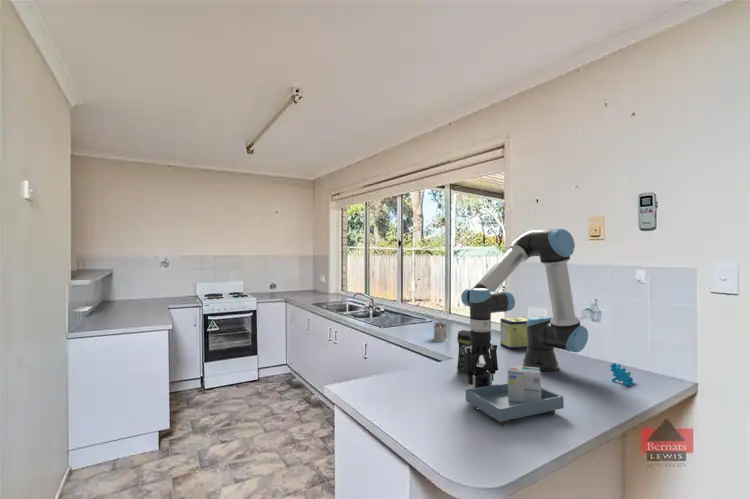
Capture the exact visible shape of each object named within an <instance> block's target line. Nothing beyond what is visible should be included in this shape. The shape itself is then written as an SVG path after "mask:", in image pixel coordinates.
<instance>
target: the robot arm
mask: <svg viewBox="0 0 750 499" xmlns="http://www.w3.org/2000/svg"><path fill="white" fill-rule="evenodd" d="M575 247H576V246H575V239H574V238H573V236H572V234H571V233H570V232H569V230H566V229H564V228H548V229H547V228H545V229H534V230H532V229H531V230H529V231H526V232H525V233H523V234H522V235H520V236H518V237H517V238H516V239H515V240H513V242H511V243H510V245H509V246H508V248H507V251H506V252H505V254H503V256H502V257H500V258H499V259H498V261H497V262H496V263H495V264H494V265H493V266H492V267H491V268H490V269H489V270H488V271H487V272H486V274H485V275H484V276H483V277H482V278H481V279H480V280H479V281H478V282H477V283H476V284H475V285H474V287H472V288H466V289H464V290H463V291H462V293H461V295H460V296H461V298H460V300H461V302H462V304H463V305H464V306H467V307H469V329H470V330H469V331H470V340H471V344H470V346H469V347H464V365H463V373H462V374H464V375H467V384H468V385H469V388H468V389H473V388H476V382H475V376H474V372H475V368H476V365H477V361H478V359H479V360H480V357H481V356H482V357H483V360H484V364H486V365H487V369H488V370H487V372H488V373H489V374H490V386H491V385H493V382H494V375H495V374H496V372H497V371H498V370H499V366H498V365H499V364H498V354H497V353H498V352H497V351H498V350H497V349H498V345H497V344H494V343H491V340H492V332H491V331H490V330H491V328H492V327H491V326H492V323H491V322H492V317H491V316H492V314H494V313H506V312H509V311H512V310H513V309H514V308H515V305H516V299H515V296H514V295H513V294H512V293H511V292H509V291H501V292H499V291H497V290H498V289H499V288H500V286H501V285H503V283H504V282H505V281H506V280H507V279H508V278H509V277H510V275H511V274H512V273H513V272H514V271H515V270H516V268H518V267H519V266H520V264H521V263H524V262H526V261H527V260H528V259H530V258H531V257H532V258H533V257H539V258H540V259H539V260H540V263H542V264H543V265H544V266H545V273H546V279H547V280H546V281H547V285H548V286H547V287H548V292H549V299H550V305H551V311H552V316H533V317H530V318H527V319H528V320H527V349H526V350H525V351H526V352H525V354H524V358H523V360H522V362H523V363H522V365H523V367H537V368H540V372H541V371H542V372H552V371H553V372H555V371H557V370H558V369H559V362H558V360H557V357H556V353H555V349H559V350H561V351H562V350H563V351H566V352H570V353H571V352H573V353H580V352H581V351H583V349H585V347H586V345H587V343H588V339H589V331H588V329H587V328H586V327H585V326H584V325H581V321H580V318H579V317H577V316H576V314H575V306H574V302H573V293H572V289H571V282H570V280H571V279H570V274H569V269H568V262H569V261H570V260H571V256H572V255H573V254H574V252H575ZM471 350H472V351H471ZM471 352H472V354H471ZM471 356H472V357H471Z"/></svg>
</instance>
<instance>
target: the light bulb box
mask: <svg viewBox="0 0 750 499" xmlns="http://www.w3.org/2000/svg"><path fill="white" fill-rule="evenodd" d="M541 374H542V373H541V371H540V368H537V367H525V366H524V365H523V366H521V365H520V366H519V365H510V364H508V366H507V383H508V401H515V402H523V403H526V402H531V401H536V400H541V387H542V377H541V376H542V375H541Z"/></svg>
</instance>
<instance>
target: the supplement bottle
mask: <svg viewBox="0 0 750 499" xmlns="http://www.w3.org/2000/svg"><path fill="white" fill-rule="evenodd" d="M474 376H475V382H476V388H479V387H485V386H490V374H489V373H488V369H487V365H486V364H485V363H483V362H479V363H477V365H476V368H475V372H474Z"/></svg>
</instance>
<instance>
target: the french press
mask: <svg viewBox="0 0 750 499" xmlns="http://www.w3.org/2000/svg"><path fill="white" fill-rule="evenodd" d="M442 301H443V300H442V298H441V299H440V298H439V299H438V302H442ZM433 319H436V320H438V322H435V323H434V326H433V338H432V341H434V342H440V343H441V342H442V343H443V342H449V339H448V328H447V327H448V326H447V323H445V322H443V320H447V319H448V317H447V316H446V315H444V314H441V313H439V314H436V315H434V316H433Z"/></svg>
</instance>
